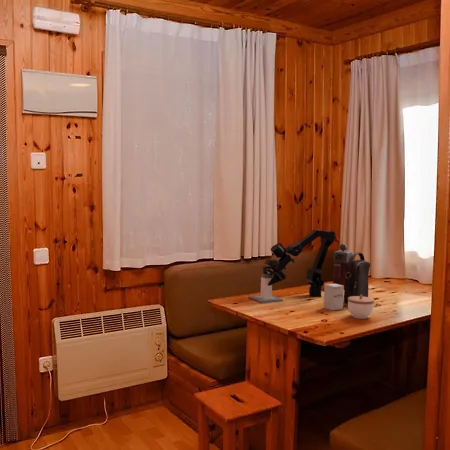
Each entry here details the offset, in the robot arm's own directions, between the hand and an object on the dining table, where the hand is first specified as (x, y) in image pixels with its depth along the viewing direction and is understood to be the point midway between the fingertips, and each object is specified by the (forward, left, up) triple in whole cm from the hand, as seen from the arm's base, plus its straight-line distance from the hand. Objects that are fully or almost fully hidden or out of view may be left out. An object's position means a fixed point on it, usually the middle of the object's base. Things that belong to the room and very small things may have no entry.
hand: (264, 283), depth 291 cm
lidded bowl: (-49, +27, -9) cm, 57 cm away
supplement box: (-37, +12, -9) cm, 40 cm away
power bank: (-1, -1, -8) cm, 8 cm away
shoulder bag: (-51, -6, -9) cm, 52 cm away
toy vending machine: (-46, -45, -9) cm, 65 cm away
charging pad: (-1, -1, -9) cm, 9 cm away
